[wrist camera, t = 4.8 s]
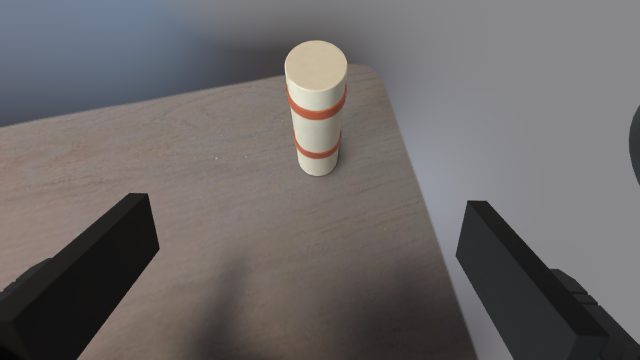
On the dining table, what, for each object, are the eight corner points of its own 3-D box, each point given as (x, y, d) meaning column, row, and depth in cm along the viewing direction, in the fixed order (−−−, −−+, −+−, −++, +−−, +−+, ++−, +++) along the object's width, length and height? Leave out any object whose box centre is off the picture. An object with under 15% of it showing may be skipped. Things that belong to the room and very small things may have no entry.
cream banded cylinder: (341, 144, 32) (354, 44, 20) (334, 180, 31) (342, 97, 19) (302, 137, 32) (291, 34, 20) (293, 173, 31) (275, 86, 19)
